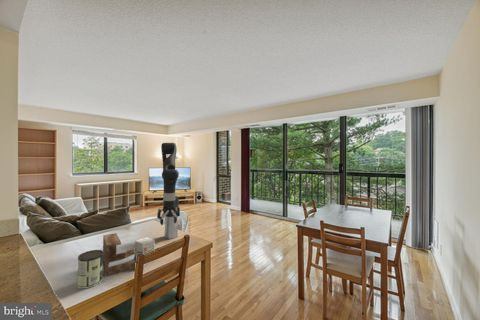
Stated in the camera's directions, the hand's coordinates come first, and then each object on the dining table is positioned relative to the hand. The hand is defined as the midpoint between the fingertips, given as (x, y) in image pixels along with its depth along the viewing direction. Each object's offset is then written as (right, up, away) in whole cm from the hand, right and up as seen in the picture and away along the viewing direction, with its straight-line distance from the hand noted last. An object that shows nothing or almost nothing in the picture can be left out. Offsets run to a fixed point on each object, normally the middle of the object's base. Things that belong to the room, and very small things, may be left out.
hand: (168, 223), depth 139 cm
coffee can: (-27, -19, -35) cm, 48 cm away
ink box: (-12, -19, -9) cm, 24 cm away
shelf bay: (-22, -19, -17) cm, 33 cm away
